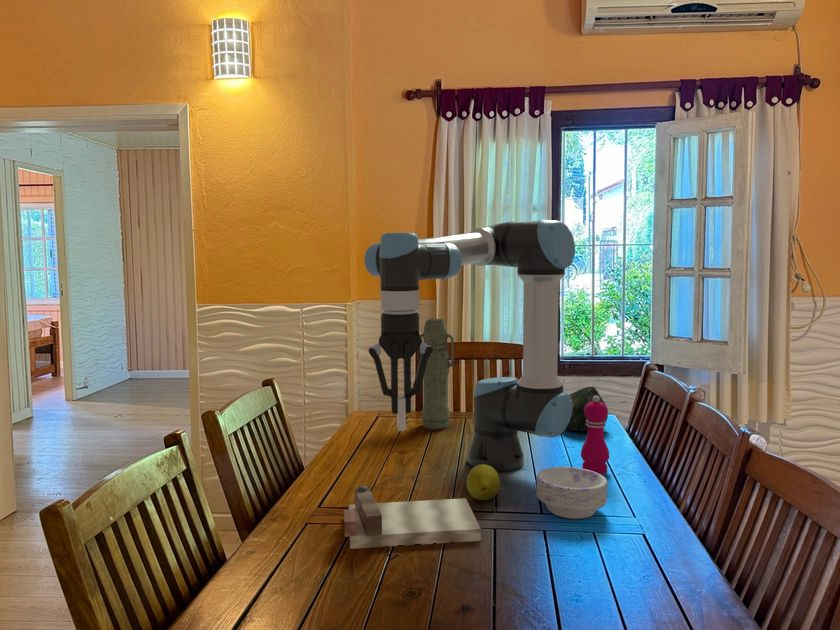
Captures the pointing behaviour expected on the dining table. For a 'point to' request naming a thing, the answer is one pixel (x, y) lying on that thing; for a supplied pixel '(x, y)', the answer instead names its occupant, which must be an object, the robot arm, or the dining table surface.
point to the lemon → (483, 482)
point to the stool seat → (416, 524)
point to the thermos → (436, 375)
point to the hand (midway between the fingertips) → (401, 428)
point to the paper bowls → (571, 491)
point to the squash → (581, 408)
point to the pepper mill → (595, 437)
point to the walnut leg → (368, 511)
